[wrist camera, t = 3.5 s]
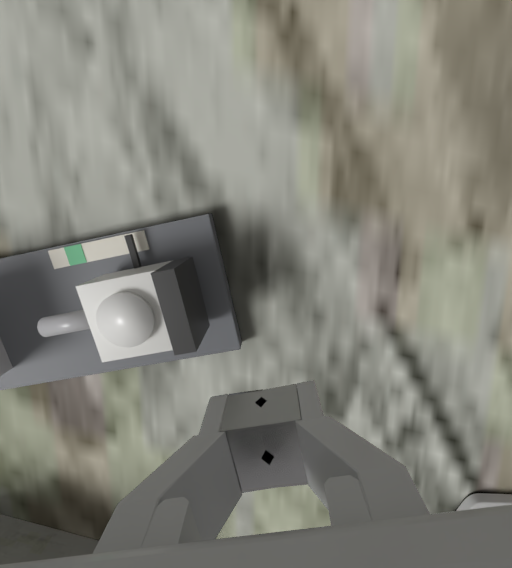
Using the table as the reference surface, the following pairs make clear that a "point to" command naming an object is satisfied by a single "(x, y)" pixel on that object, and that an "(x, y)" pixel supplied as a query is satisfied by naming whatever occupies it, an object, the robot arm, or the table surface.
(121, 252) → the stand
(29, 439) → the table surface
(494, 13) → the table surface
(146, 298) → the white domed block
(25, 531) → the geiger counter
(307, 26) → the table surface
